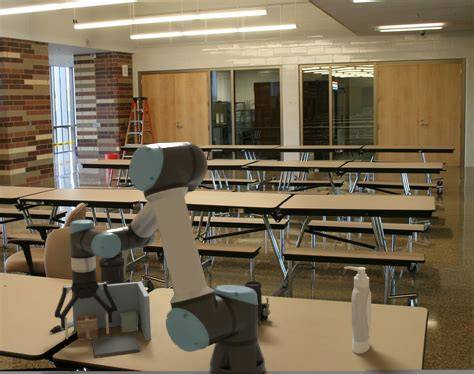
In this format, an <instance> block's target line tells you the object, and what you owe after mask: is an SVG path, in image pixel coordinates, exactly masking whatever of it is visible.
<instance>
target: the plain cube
mask: <svg viewBox="0 0 474 374" xmlns="http://www.w3.org/2000/svg"><path fill="white" fill-rule="evenodd" d="M120 320H121V326H120V329H121V332H122V333H126V332H127V333H128V332H129V333H130V332H137V331H139V324H138V318H137V314H136V311H132V312H123V313H120Z"/></svg>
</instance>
